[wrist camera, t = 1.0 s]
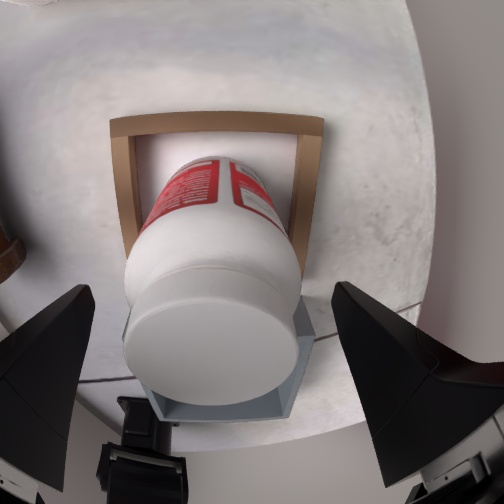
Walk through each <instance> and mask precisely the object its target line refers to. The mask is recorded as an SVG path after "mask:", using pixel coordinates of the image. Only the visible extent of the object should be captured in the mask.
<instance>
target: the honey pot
mask: <svg viewBox="0 0 504 504" xmlns="http://www.w3.org/2000/svg"><path fill="white" fill-rule="evenodd" d="M0 1H5V2H9V3H13V4H17V5H21V6H40V5H44V4H48V3H51V2H55V1H58V0H0Z"/></svg>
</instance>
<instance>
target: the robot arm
mask: <svg viewBox="0 0 504 504" xmlns="http://www.w3.org/2000/svg"><path fill="white" fill-rule="evenodd" d="M331 305H332V309H333V313H334V318H335V322H336V326H337V330H338V335H339V339H340V342H341V345H342V348H343V351H344V353H345V356H346V359H347V362H348V365H349V368H350V371H351V374H352V377H353V380H354V383H355V386H356V389H357V392H358V395H359V398H360V401H361V404H362V408H363V411H364V414H365V417H366V421H367V424H368V427H369V431H370V434H371V437H372V441H373V444H374V448H375V452H376V455H377V459H378V463H379V466H380V470H381V474H382V478H383V481H384V485H385V488H388V487H390V486H393V485H395V484H397V483H400V482H402V481H405V480H407V479H409V478H411V477H414V476H416V475H418V474H420V475H421V478H422V481H423V482H422V483H420V484H418V485H416V486H414V487H413V488H412V490H411V492H410V494H409V496H408V498H407V500H406V502H405V504H504V362H493V363H478V362H474V361H471V360H469V359H468V358H466V357H464V356H462V355H461V354H459V353H457V352H456V351H454V350H452V349H450V348H449V347H447V346H445V345H444V344H442V343H440V342H439V341H437V340H435V339H434V338H432V337H431V336H429V335H428V334H426V333H425V332H423V331H421V330H420V329H419V328H416V326H414V325H413V324H411V323H410V322H408V321H407V320H405V319H404V318H402V317H401V316H399V315H398V314H396V313H395V312H393V311H392V310H390V309H389V308H387V307H386V306H384V305H383V304H381V303H380V302H378V301H377V300H375V299H374V298H372V297H371V296H369V295H368V294H366V293H365V292H363V291H362V290H360V289H358V288H357V287H355V286H354V285H352V284H351V283H349V282H347V281H343V282H337V283H336V285H335V288H334V292H333V296H332V300H331ZM94 311H95V301H94V298H93V295H92V292H91V289H90V287H89V286H88V285H87V284H79V285H77V286H75V287H74V288H72V289H71V290H70V291H68V292H67V293H65V294H64V295H62V296H61V297H60V298H58V299H57V300H55V301H54V302H53V303H51V304H50V305H48V306H47V307H46V308H44V309H43V310H42V311H40V312H39V313H38V314H36V315H35V316H33V317H32V318H31V319H29V320H28V321H27V322H26V323H24V324H23V325H22V326H20V327H19V328H18V329H16V330H15V332H13V333H11V334H10V335H9V336H8V337H6V338H5V339H4V340H2V341H1V342H0V504H45V503H44V501H43V500H42V498H41V496H40V494H39V493H38V492H37V488H38V483H40V484H42V485H44V486H47V487H49V488H52V489H54V490H57V491H59V492H63V486H64V471H65V460H66V450H67V441H68V435H69V428H70V422H71V416H72V411H73V405H74V400H75V395H76V391H77V386H78V382H79V377H80V373H81V369H82V365H83V361H84V357H85V354H86V350H87V346H88V342H89V337H90V332H91V326H92V321H93V316H94ZM117 402H118V404H119V405H120V407H121V408H122V410H123V411H124V412H125V418H124V424H123V431H122V438H121V445H116V444H113V443H112V442H108V444H102V451H101V456H100V461H99V465H98V469H97V473H96V478H97V479H98V480H99V482H100V486H101V490H102V492H106V493H107V504H187V503H188V480H187V470H186V459H185V457H180V458H179V457H173V456H171V436H172V426H174V427H178V426H179V422H172V421H160V420H159V419H158V417H157V415H156V413H155V411H154V409H153V407H152V405H151V403H150V401H149V400H145V399H134V398H125V397H118V398H117ZM113 458H116V460H113Z"/></svg>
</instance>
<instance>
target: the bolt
mask: <svg viewBox="0 0 504 504" xmlns="http://www.w3.org/2000/svg"><path fill="white" fill-rule="evenodd" d="M25 259H26V249H25V247H24V245H23V243H22V240H21V238H20V237H18V238H16V239H13V240H11V241H9V242H8V240H7V238H6V236H5V234H4V231H3V229H2V227H1V225H0V284H1V283H3V282H4V281H5V280H7V279H8V278H9V277H10V276H11V275H12V274H13V273H14V272H15V271H16V270H17V269H18V268H19V267H20V266H21V264H22V263H23V262H24V261H25Z"/></svg>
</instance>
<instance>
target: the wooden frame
mask: <svg viewBox="0 0 504 504" xmlns="http://www.w3.org/2000/svg"><path fill="white" fill-rule="evenodd" d="M323 124H324V118H320V117H314V116H305V115H295V114H283V113H269V112H248V111H194V112H173V113H159V114H147V115H138V116H129V117H121V118H115V119H111V120H110V137H111V152H112V163H113V173H114V182H115V191H116V198H117V205H118V212H119V218H120V225H121V230H122V236H123V242H124V247H125V252H126V257H127V260H128V257H129V255H130V252H131V249H132V247H133V245H134V243H135V241H136V239H137V237H138V235H139V233H140V231H141V229H142V227H143V223H142V215H141V207H140V198H139V189H138V178H137V166H136V151H135V135H145V134H158V133H174V132H199V131H244V132H270V133H286V134H298V140H297V151H296V162H295V173H294V183H293V193H292V202H291V212H290V221H289V229H288V238H289V241H290V243H291V245H292V247H293V249H294V251H295V253H296V256H297V260H298V263H299V267H300V271H301V283H302V277H303V272H304V266H305V260H306V254H307V248H308V242H309V235H310V229H311V222H312V215H313V208H314V201H315V194H316V186H317V178H318V170H319V162H320V153H321V144H322V134H323Z"/></svg>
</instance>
